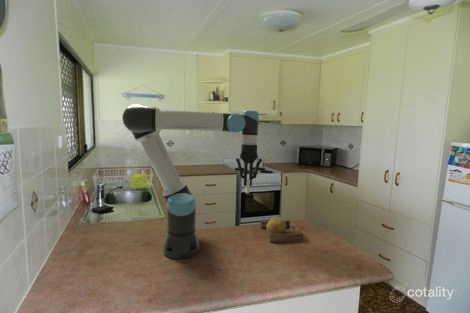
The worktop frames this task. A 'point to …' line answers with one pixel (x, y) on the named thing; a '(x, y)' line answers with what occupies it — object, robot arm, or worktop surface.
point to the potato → (276, 225)
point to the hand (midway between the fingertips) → (247, 192)
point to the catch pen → (294, 236)
